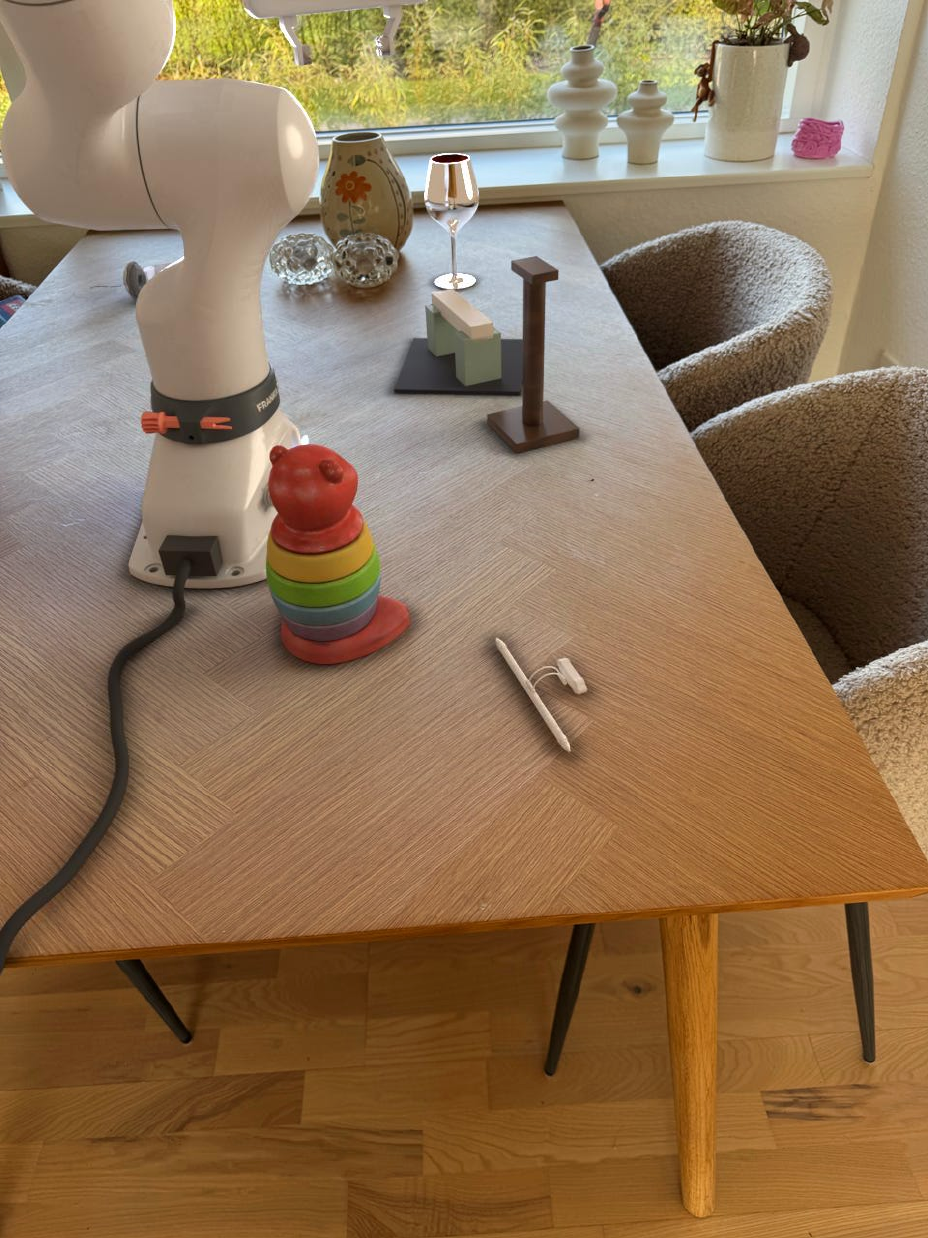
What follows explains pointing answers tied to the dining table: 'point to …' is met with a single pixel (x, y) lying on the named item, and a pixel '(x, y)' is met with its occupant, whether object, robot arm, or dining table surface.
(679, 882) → the dining table surface
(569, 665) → the picture light
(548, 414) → the stand
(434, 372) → the desk mat
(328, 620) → the stacking bear
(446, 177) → the wineglass
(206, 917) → the dining table surface
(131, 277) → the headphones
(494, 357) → the sage green twin blocks
